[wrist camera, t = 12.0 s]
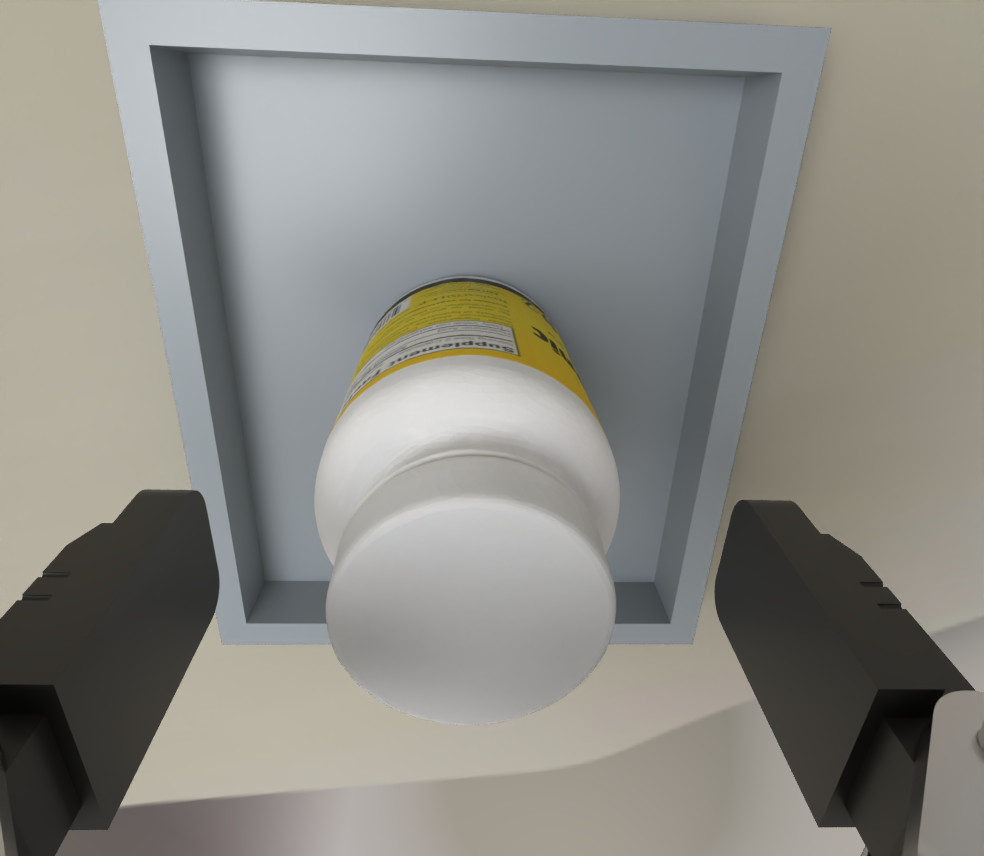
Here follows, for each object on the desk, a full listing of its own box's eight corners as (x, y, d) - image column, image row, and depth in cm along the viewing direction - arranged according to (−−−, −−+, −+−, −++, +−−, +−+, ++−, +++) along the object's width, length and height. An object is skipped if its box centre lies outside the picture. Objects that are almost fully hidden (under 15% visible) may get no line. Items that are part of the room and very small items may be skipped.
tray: (153, 11, 14) (96, -7, 12) (776, 40, 15) (831, 27, 13) (247, 588, 21) (221, 644, 19) (669, 589, 22) (692, 644, 20)
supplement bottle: (573, 444, 19) (669, 740, 10) (387, 469, 19) (319, 782, 10) (558, 255, 16) (667, 423, 8) (345, 284, 16) (207, 484, 8)
